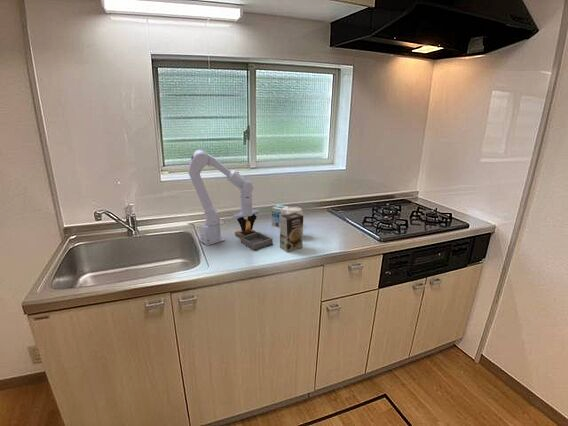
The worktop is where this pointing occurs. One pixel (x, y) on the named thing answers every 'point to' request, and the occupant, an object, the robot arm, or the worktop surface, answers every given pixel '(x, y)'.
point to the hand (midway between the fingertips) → (246, 229)
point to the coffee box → (291, 231)
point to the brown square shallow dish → (240, 234)
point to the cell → (247, 227)
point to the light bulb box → (278, 214)
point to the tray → (256, 241)
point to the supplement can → (294, 210)
